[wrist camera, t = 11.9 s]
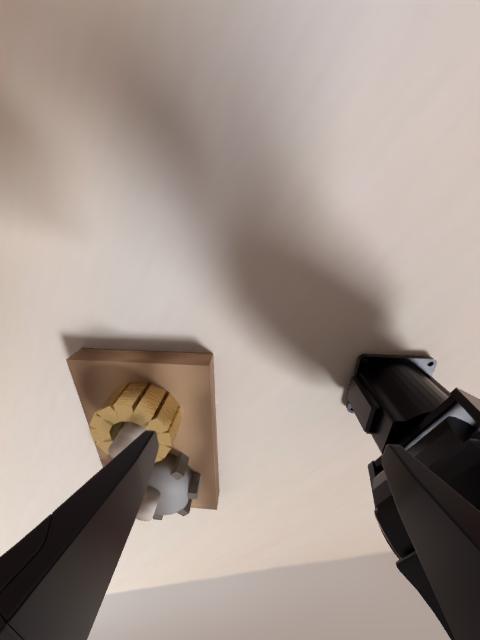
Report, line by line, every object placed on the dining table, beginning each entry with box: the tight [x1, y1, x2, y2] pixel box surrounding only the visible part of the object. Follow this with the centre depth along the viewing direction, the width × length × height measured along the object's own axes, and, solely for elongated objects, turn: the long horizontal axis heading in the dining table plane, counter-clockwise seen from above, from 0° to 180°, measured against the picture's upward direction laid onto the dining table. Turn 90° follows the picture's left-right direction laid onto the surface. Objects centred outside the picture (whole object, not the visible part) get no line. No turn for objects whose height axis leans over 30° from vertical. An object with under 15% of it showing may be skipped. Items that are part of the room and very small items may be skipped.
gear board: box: [66, 348, 219, 521], centre depth 23 cm, size 13×21×6 cm, turn 0°
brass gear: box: [89, 381, 182, 462], centre depth 21 cm, size 7×7×3 cm
